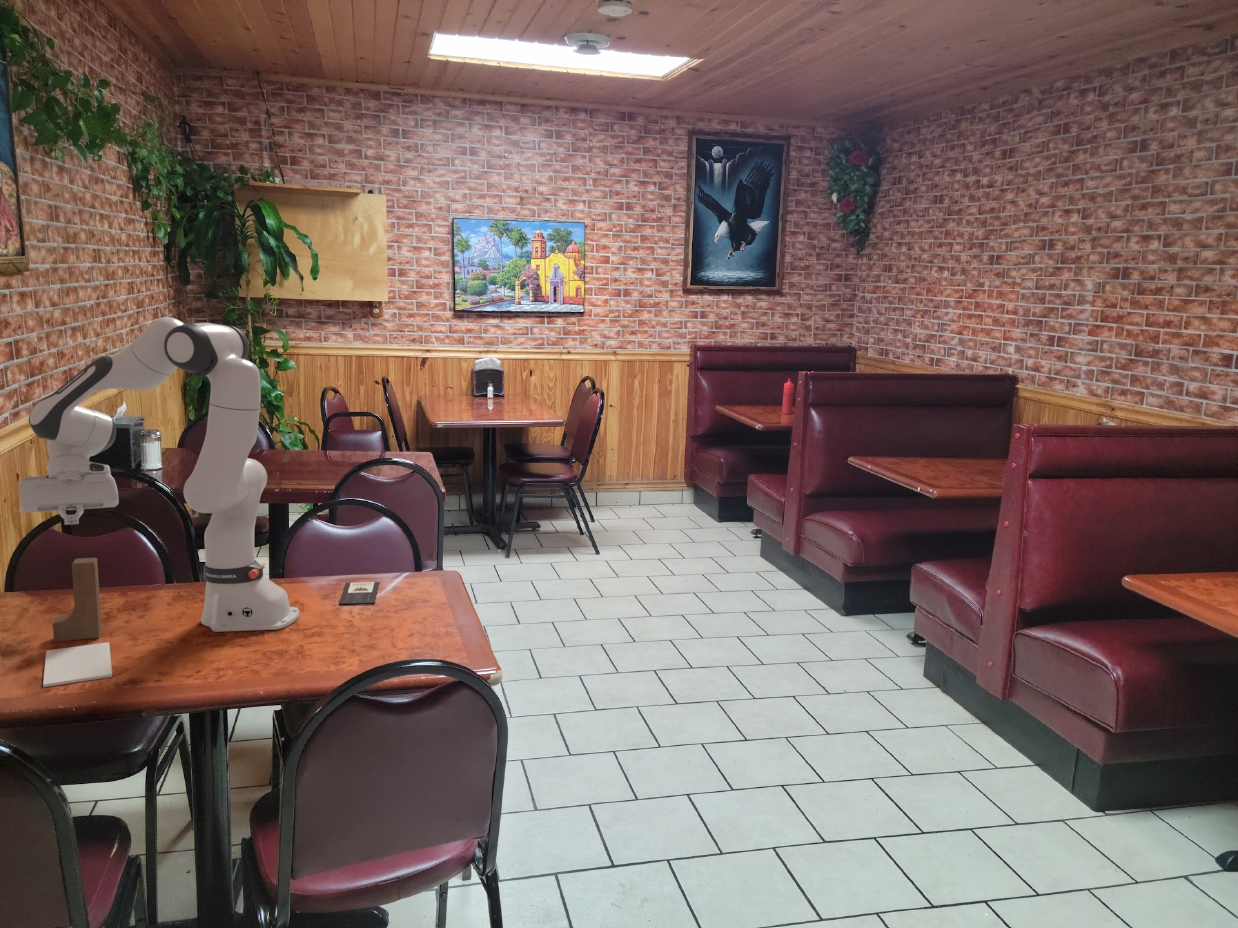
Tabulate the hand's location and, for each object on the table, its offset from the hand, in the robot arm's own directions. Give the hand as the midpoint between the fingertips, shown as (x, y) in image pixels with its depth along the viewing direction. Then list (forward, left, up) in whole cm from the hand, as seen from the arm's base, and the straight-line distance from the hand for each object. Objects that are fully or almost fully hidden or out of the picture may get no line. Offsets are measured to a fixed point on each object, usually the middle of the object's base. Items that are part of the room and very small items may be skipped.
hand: (71, 523), depth 215 cm
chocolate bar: (-60, -26, -25) cm, 70 cm away
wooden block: (-6, +11, -24) cm, 27 cm away
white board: (-15, +26, -24) cm, 39 cm away
